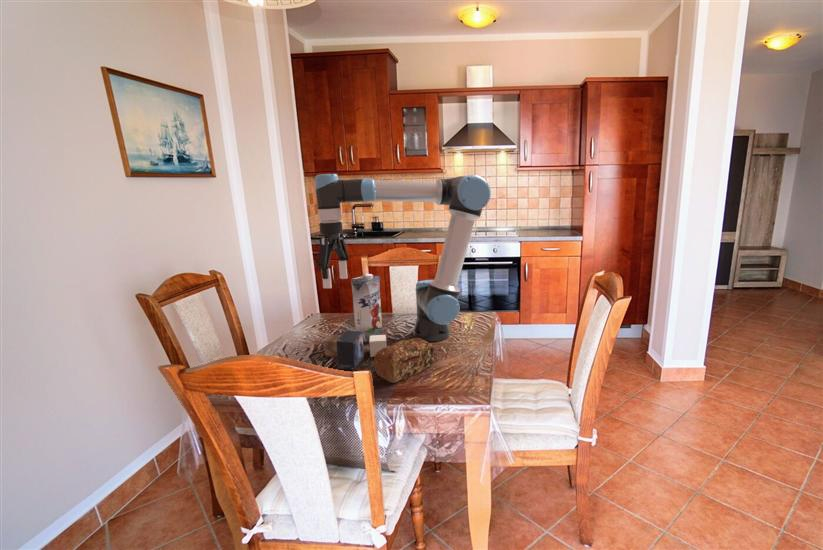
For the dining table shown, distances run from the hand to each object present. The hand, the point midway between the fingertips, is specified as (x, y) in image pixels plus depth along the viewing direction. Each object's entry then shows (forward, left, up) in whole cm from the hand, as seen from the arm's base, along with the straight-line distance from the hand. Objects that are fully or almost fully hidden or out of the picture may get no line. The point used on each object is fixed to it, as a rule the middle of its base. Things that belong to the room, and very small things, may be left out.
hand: (336, 283), depth 136 cm
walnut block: (+4, -5, -29) cm, 29 cm away
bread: (-25, +6, -29) cm, 38 cm away
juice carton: (-4, -21, -29) cm, 35 cm away
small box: (-5, +3, -29) cm, 29 cm away
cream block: (-12, -7, -29) cm, 32 cm away
